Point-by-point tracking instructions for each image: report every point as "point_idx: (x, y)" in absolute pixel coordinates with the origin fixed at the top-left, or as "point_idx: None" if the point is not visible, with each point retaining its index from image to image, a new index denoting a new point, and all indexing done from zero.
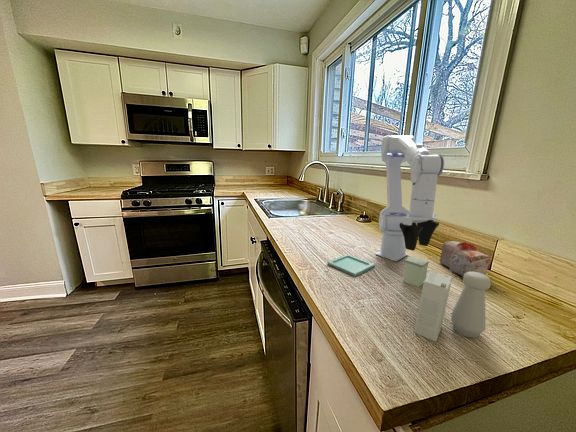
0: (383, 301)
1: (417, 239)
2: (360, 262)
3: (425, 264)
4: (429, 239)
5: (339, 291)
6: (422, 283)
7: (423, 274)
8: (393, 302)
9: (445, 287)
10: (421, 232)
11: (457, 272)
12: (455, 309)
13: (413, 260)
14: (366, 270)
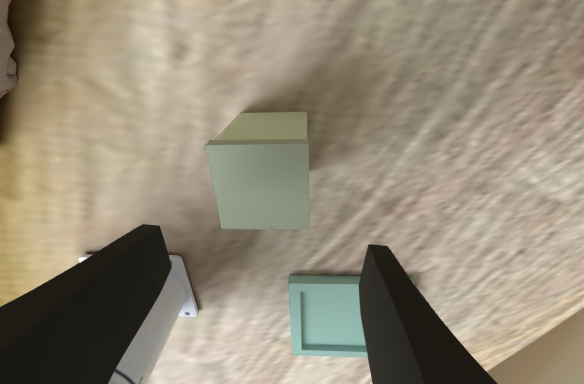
0: (523, 146)
1: (410, 330)
2: (305, 311)
3: (257, 142)
4: (102, 261)
5: (541, 258)
6: (267, 112)
7: (266, 125)
8: (508, 119)
9: None
10: (96, 370)
11: (11, 40)
12: None
13: (277, 203)
14: (342, 277)
